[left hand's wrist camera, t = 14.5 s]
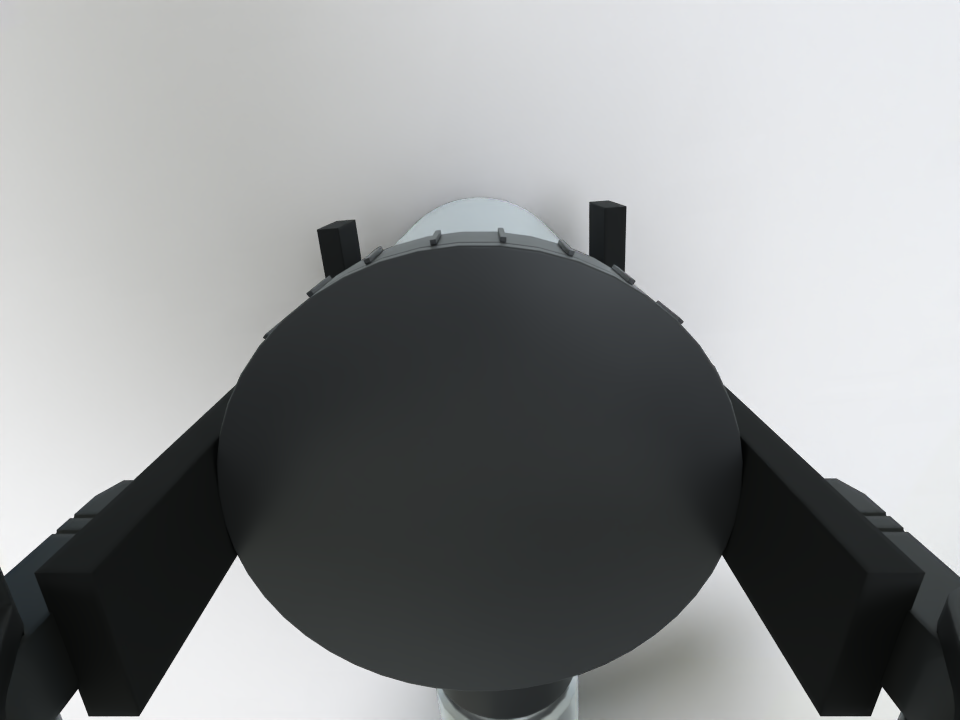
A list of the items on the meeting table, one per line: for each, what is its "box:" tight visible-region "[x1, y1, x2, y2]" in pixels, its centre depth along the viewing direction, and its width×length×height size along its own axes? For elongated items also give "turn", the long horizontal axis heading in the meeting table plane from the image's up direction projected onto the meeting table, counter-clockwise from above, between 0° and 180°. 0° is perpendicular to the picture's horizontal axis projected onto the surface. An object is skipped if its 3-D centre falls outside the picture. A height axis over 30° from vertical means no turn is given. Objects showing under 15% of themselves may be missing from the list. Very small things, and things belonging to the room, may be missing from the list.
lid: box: [217, 228, 743, 691], centre depth 11 cm, size 10×10×2 cm
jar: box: [394, 197, 559, 246], centre depth 19 cm, size 9×9×17 cm
